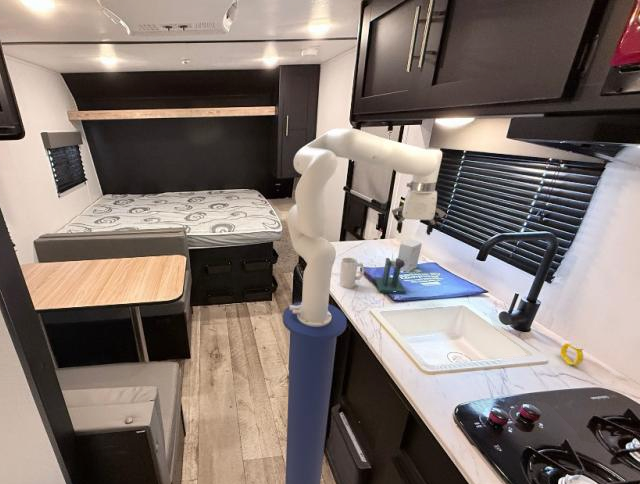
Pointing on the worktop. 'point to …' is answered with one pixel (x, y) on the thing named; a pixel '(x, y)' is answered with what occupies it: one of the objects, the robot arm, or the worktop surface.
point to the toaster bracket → (389, 280)
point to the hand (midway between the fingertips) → (413, 232)
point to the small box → (409, 254)
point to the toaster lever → (397, 263)
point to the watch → (578, 351)
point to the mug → (349, 272)
